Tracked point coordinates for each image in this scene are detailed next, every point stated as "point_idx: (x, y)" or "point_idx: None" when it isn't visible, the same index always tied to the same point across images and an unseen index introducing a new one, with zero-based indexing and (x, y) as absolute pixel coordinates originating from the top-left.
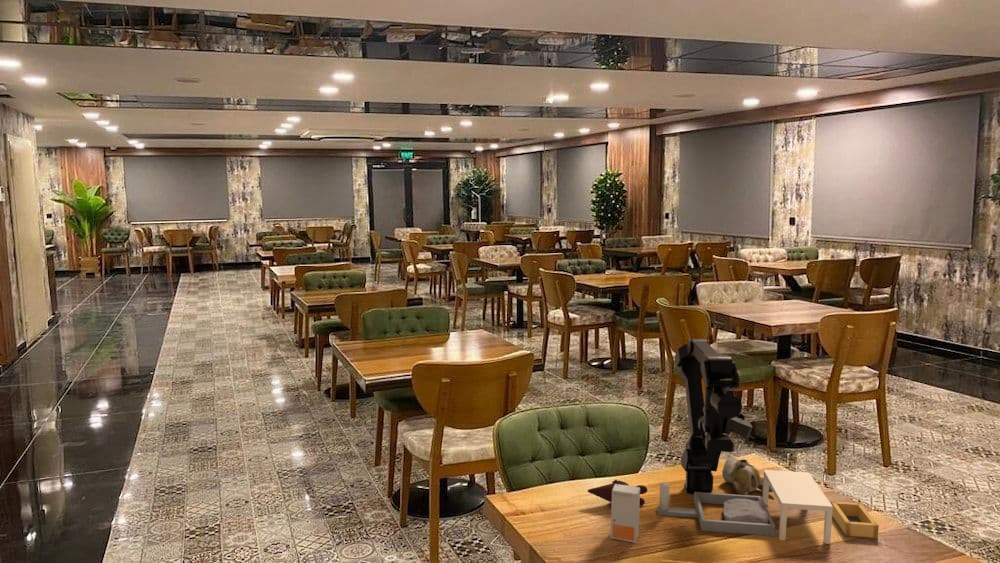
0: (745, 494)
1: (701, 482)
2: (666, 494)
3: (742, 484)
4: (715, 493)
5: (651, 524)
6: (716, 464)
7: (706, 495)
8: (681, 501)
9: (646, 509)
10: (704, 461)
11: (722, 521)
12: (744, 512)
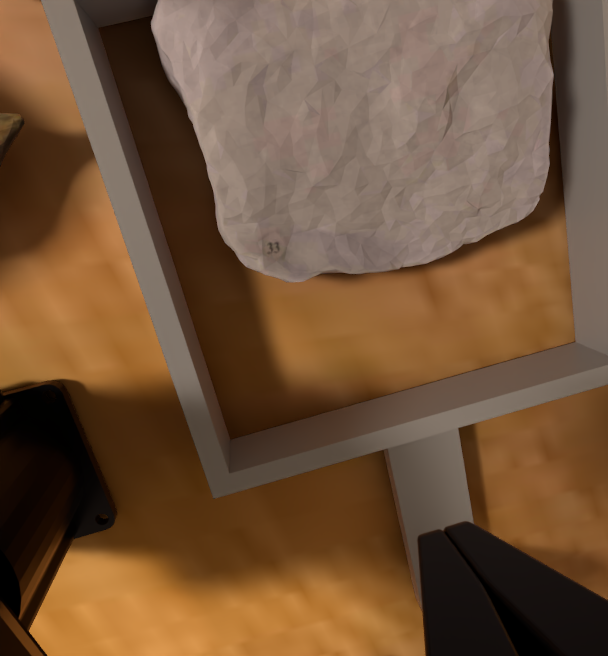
0: (17, 127)
1: (43, 492)
2: None
3: None
4: (172, 362)
5: (566, 574)
6: (502, 546)
7: (212, 413)
8: (239, 519)
9: (413, 635)
10: (2, 651)
11: None
12: (507, 107)
